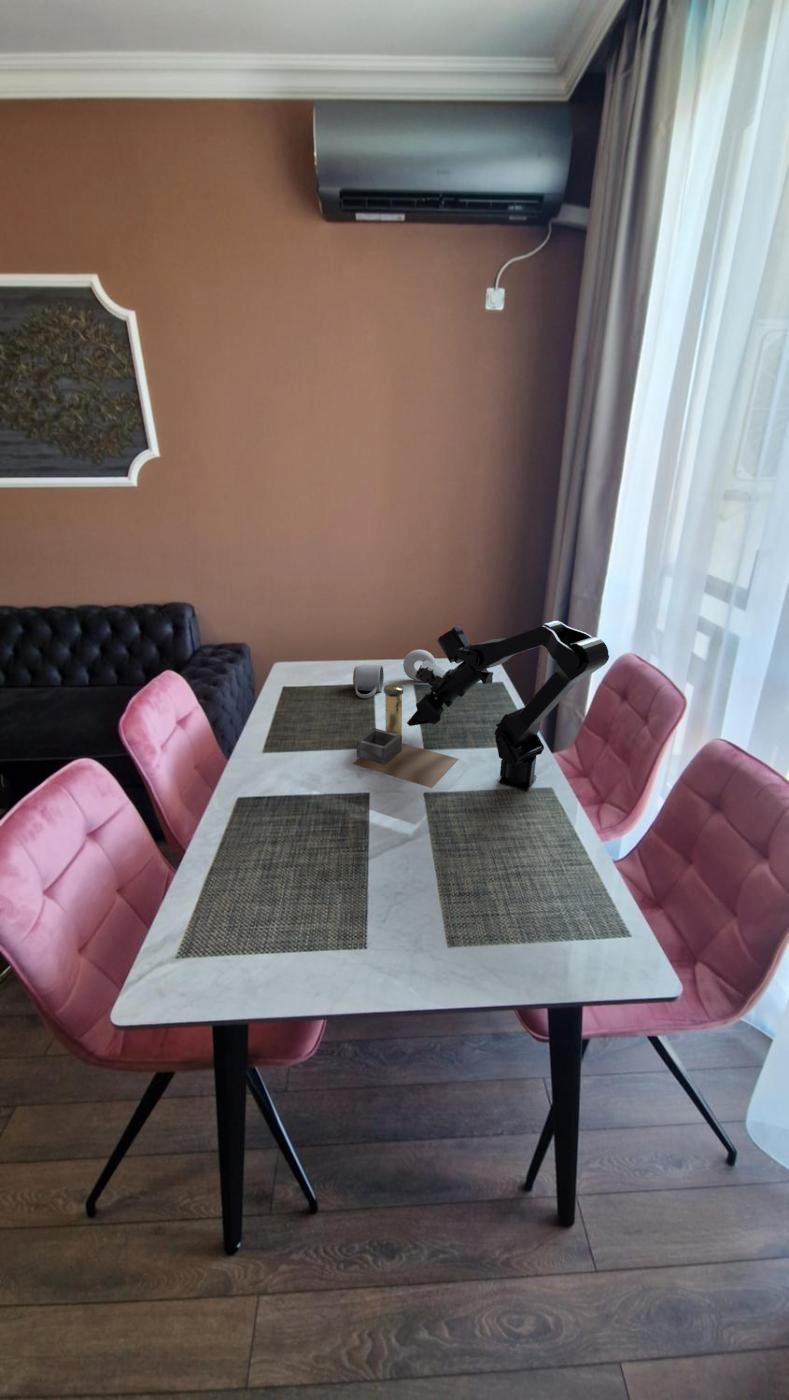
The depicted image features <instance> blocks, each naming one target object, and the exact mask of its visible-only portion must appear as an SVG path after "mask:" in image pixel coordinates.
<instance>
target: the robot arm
mask: <svg viewBox="0 0 789 1400" xmlns="http://www.w3.org/2000/svg"><path fill="white" fill-rule="evenodd" d="M437 644H438V645H439V647H440V649H441V650H442V651H443V653H444V655H445V657H446V658H447V660H448V661H449V663H450V664H452V663H455V664H457V666H456V667H455V668H454V669H453V668H449V669H448V670H447V671H446V670H444V669H443V668H442V667H440V666H439V665H437V664H436V665H435V664H433V663H432V662H430V661H428V660H425V661H424V662H423V661H422V663H421V664H420V666H419V668H418V669H417V670H418V671H417V673H416V675H415V677H416V678H417V679H419V680H421V681H420V682H422V683H424V684H426V685H429V686H430V688H429V689H430V693H429V694H428V693H425V694H424V695H423V696H422V697H421V698H419V699H418V700H417V702H416V703H415V707H416V711H415V712H414V713H413V715H412V716H411V717H410V718H409V719H408V721H407V722H406V725H408V726H409V727H412V726H413V727H414V726H420V725H424V724H426V725H427V724H431V725H433V726H434V725H437V724H438V723H439V722H440V721H441V720H442V718H443V716H444V715H445V708H444V705H445V706H446V707H447V708H449V707H450V706H452V704H453V703H454V701H456V700H457V699H458V698H462V697H463V696H465V694H466V693H467V691H468V690H470V689H472V687H474V686H475V685H476V684H478V683H479V682H481V683H482V684H484V685H491V684H493V675H494V672H493V671H488V669H491V668H493V667H497V666H500V665H502V664H503V663H506V662H507V661H508V660H510V658H512V657H513V656H515V655H517V654H521V653H523V652H526V651H530V650H533V649H535V648H538V647H541V646H543V647H545V648H546V650H547V652H548V653H549V655H550V657H551V658H552V659H553V660H554V661H556V664H555V671H554V672H553V673H552V675H551V676H550V677H549V678H548V679H547V680H546V681H545V682H544V684H543V685H542V686H541V687H540V688H539V690H538V691H537V692H536V693H535V694H534V696H533V697H532V698H531V699H530V700H529V701H528V702H527V703H526V705H525V706H523V707H521V708H518V709H515V710H513V711H510V712H508V713H506V714H505V713H504V715H503V717H502V718H501V720H500V722H499V723H496V724H495V726H496V728H495V730H494V735H495V743H496V748H497V753H498V754H497V755H498V758H500V759H501V761H500V767H499V768H500V769H499V770H500V771H499V777H500V778H499V780H498V783H499V784H501V785H505V786H507V787H512V788H516V789H519V790H521V791H522V790H523V791H527V792H528V790H530V788H531V786H532V785H533V784H534V782H535V781H536V779H537V775H535V772H536V771H535V770H536V765H537V756H539V755H542V754H543V752H544V750H545V746H544V743H542V740H541V738H540V737H539V735H538V734H539V732H540V724H541V722H542V721H543V720H544V719H545V718H546V717H547V716H548V715H549V714H550V713H551V711H552V710H554V708H556V706H557V705H558V704H559V703H560V702H561V701H562V699H564V698H565V697H566V695H567V694H568V693H569V692H570V691H571V690H572V689H573V688H574V687H575V685H577V683H578V682H580V681H582V680H583V679H585V678H586V677H588V676H590V675H592V674H593V673H595V672H596V671H598V670H599V669H601V668H602V667H604V666H605V665H606V664H607V663H608V661H609V659H610V655H609V649H608V646H607V645H606V642H604V640H602V638H599V637H596V636H595V637H594V636H592V635H590V634H588V632H585V631H581V630H579V629H576V628H573V627H570V626H568V625H566V624H565V623H563V622H561V621H559V620H552V621H548V622H546V623H545V622H544V623H542V624H540V625H537V627H535V628H531V629H529V630H526V631H524V632H521V633H518V634H515V635H513V636H510V637H507V638H504V637H503V638H502V637H501V638H495V639H494V638H493V639H489V640H487V641H483V642H477V643H473V644H471V642H470V641H469V638H467V636H466V635H465V632H464V630H463V628H462V627H461V625H458V626H454V627H452V628H451V629H450V630H448V631H446V632H445V633H444V634H442V635H440V636H439V637H438V638H437Z"/></svg>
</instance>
